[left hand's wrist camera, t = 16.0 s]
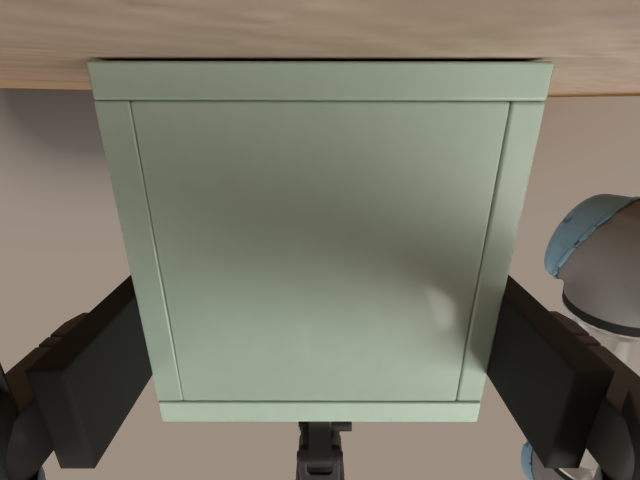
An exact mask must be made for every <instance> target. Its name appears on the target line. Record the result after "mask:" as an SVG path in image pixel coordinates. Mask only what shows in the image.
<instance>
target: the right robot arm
mask: <svg viewBox="0 0 640 480" xmlns="http://www.w3.org/2000/svg"><path fill="white" fill-rule="evenodd" d="M544 264H545V268H546V270H547V271H548V272H549V274H551V275H552V276H553V277H554V278H556V279H562V280H563V281H564V286H563V294H562V302H563V304H564V306H565V308H566V310H567V311H568V312H569V313H570V314H571V315H572V316H573V321H575V322H576V323H578V324H579V325H580V326H581V327H582V328H583V329H585V330H586V331H587V332H588V333H589V336H593V337H594V338H595V339H596V340H597V341H599V342H600V343H601V346H604V347H606V348H607V349H608V350H609V351H610V352H612V353H613V354H614V355H615V356H616V357H617V358H619V359H620V360H621V361H622V362H623V363H624V364H626V365H627V366H628V367H629V368H630V369H631V370H633V371H634V372H635V373H636V374H637V375H638V376H640V197H634V198H633V197H626V196H619V195H612V194H600V195H595V196H592V197H590V198H588V199H586V200H584V201H583V202H581V203H580V204H578V205H577V206H576V207H575V208H573V209H572V210H571V211H570V212H569V213H568V214H567V216H566V217H565V218H564V219H563V221H562V222H561V223H560V224H559V226H558V227H557V229H556V230H555V232H554V233H553V235H552V237H551V239H550V241H549V244H548V246H547V249H546V253H545V258H544ZM299 427H300V430H301V435H300V438H299V451H297V470H296V480H344V466H343V452H342V448H341V437H340V435H339V431H351V430H352V423H351V421H299ZM598 465H599V464H598V463H597V462H596V460H595V459H594V458H593V457H592V455H591V454H590V453H589V451H588V450H587V449H586V450H585V453H584V455H583V458H582V461H581V463H580V466H579V468H544V466H543V464H542V463H541V461H540V459H539V458H538V456H537V455H536V453H535V451H534V450H533V448H532V446H531V445H530V443H529V442H528V440H527V442H526V443H525V444H524V445H523V448H522V452H521V466H522V469H523V472H524V474H525V475H526V477H527V478H528V479H529V480H593V477H594V475H595V473H596V470H597V468H598Z"/></svg>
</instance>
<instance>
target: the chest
mask: <svg viewBox="0 0 640 480" xmlns="http://www.w3.org/2000/svg"><path fill="white" fill-rule="evenodd" d="M553 66H554V64H553V63H552V62H506V61H88V62H87V68H88V73H89V78H90V82H91V87H92V92H93V96H94V98H95V99H96V100H98V101H95V108H96V112H97V117H98V122H99V126H100V131H101V136H102V140H103V145H104V149H105V155H106V159H107V164H108V169H109V173H110V178H111V182H112V187H113V192H114V196H115V201H116V206H117V211H118V215H119V220H120V225H121V230H122V234H123V239H124V244H125V248H126V253H127V258H128V262H129V267H130V272H131V276H132V281H133V286H134V290H135V295H136V299H137V303H138V308H139V312H140V317H141V322H142V326H143V331H144V336H145V340H146V345H147V350H148V354H149V359H150V364H151V368H152V373H153V374H152V375H153V379H154V384H155V389H156V394H157V398H158V400H183V399H184V400H313V401H454V400H456V399H457V400H481V398H482V393H483V388H484V384H485V379H486V375H487V370H488V365H489V361H490V356H491V351H492V347H493V342H494V338H495V333H496V328H497V324H498V319H499V314H500V310H501V305H502V300H503V296H504V291H505V287H506V282H507V277H508V273H509V268H510V263H511V259H512V254H513V250H514V245H515V240H516V236H517V231H518V227H519V222H520V217H521V213H522V208H523V204H524V199H525V194H526V189H527V185H528V180H529V176H530V171H531V166H532V162H533V157H534V153H535V148H536V143H537V139H538V134H539V130H540V125H541V120H542V116H543V111H544V106H545V105H544V103H543V102H541V101H544V100H546V98H547V94H548V90H549V85H550V80H551V76H552V71H553Z"/></svg>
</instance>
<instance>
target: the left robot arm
mask: <svg viewBox="0 0 640 480" xmlns="http://www.w3.org/2000/svg"><path fill="white" fill-rule="evenodd" d="M152 374H153V373H152V368H151V364H150V359H149V354H148V350H147V345H146V340H145V336H144V331H143V326H142V322H141V317H140V312H139V308H138V303H137V299H136V295H135V290H134V286H133V281H132V276H131V275H130V276H129V277H128V278H127V279H126V280H125V281H124V282H123V283H121V284H120V285H119V286H118V287H117V288H116V289H115V290H114V291H113V292H112V293H110V294H109V295H108V296H107V297H106V298H105V299H104V300H103V301H102V302H101V303H99V304H98V305H97V306H96V307H95V308H94V309H93V310H92V311H91V312H90V313H82V314H80V315H78V316H76V317H75V318H73V319H71V320H69V321H67V322H65V323H64V324H63V325H62V326H60V327H59V328H58V329H57V330H56V331H55V332H53V333H52V334H51V337H48V338H46V339H45V340H44V341H43V342H42V343H41V344H39V347H38V348H35V349H34V350H32V351H31V352H30V353H29V354H28V355H27V356H25V357H24V358H23V359H22V360H21V361H20V362H19V363H17V364H16V365H15V366H14V367H13V368H12V369H10V370H9V371H8V372H7V373H6V374H5V373H4V371H3V368H2V366H1V363H0V480H46V479H45V473H44V470H43V468H42V465H43V463H44V462H45V461H46V459H47V458H48V457H49V455H50V454H51V453H52V452H53V450H54V451H55V454H56V457H57V459H58V462H59V465H60V467H61V468H95V467H96V465H97V464H98V462H99V460H100V459H101V457H102V456H103V454H104V452H105V451H106V449H107V447H108V446H109V444H110V443H111V441H112V439H113V438H114V436H115V434H116V433H117V431H118V430H119V428H120V426H121V425H122V423H123V421H124V420H125V418H126V417H127V415H128V413H129V412H130V410H131V408H132V407H133V405H134V404H135V402H136V400H137V399H138V397H139V396H140V394H141V392H142V391H143V389H144V387H145V386H146V384H147V383H148V381H149V379H150V378H151V376H152ZM487 375H488V377H489V378H490V380H491V382H492V383H493V385H494V386H495V388H496V390H497V391H498V393H499V395H500V396H501V398H502V399H503V401H504V403H505V404H506V406H507V408H508V409H509V411H510V412H511V414H512V416H513V417H514V419H515V421H516V422H517V424H518V425H519V427H520V428H521V430H522V432H523V433H524V435H525V437H526V438H527V440H528V442H529V443H530V445H531V446H532V448H533V450H534V451H535V453H536V455H537V456H538V458H539V459H540V461H541V463H542V464H543V466H544V468H579V466H580V463H581V461H582V458H583V455H584V453H585V450H586V449H587V450H588V451H589V453H590V454H591V455H592V457H593V458H594V459H595V460H596V462H597V463H598V464H599V465H598V468H597V470H596V473H595V475H594V477H593V480H640V376H638V375H637V374H636V373H635V372H634V371H633V370H631V369H630V368H629V367H628V366H627V365H626V364H624V363H623V362H622V361H621V360H620V359H619V358H617V357H616V356H615V355H614V354H613V353H612V352H610V351H609V350H608V349H607V348H606V347H604V346H601V343H600V342H599V341H597V340H596V339H595V338H594V337H593V336H589V333H588V332H587V331H586V330H585V329H583V328H582V327H581V326H580V325H579V324H578V323H576V322H575V321H573V320H571V319H570V318H568V317H566V316H564V315H562V314H560V313H558V312H556V311H548V310H547V309H546V308H544V307H543V306H542V305H541V304H540V303H539V302H538V301H537V300H536V299H535V298H534V297H532V296H531V295H530V294H529V293H528V292H527V291H526V290H525V289H524V288H523V287H521V286H520V285H519V284H518V283H517V282H516V281H515V280H514V279H513V278H511V277H510V276H509V275H508V277H507V282H506V287H505V291H504V296H503V300H502V305H501V310H500V314H499V319H498V324H497V328H496V333H495V338H494V342H493V347H492V351H491V356H490V361H489V365H488V370H487Z"/></svg>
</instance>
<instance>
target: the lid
mask: <svg viewBox="0 0 640 480" xmlns="http://www.w3.org/2000/svg"><path fill="white" fill-rule="evenodd" d="M159 407H160V412H161V416H162V420H163V421H363V422H364V421H366V422H367V421H369V422H378V421H379V422H476V421H477V418H478V413H479V408H480V401H479V400H457V399H456V400H454V401H313V400H184V399H183V400H160V401H159Z"/></svg>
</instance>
